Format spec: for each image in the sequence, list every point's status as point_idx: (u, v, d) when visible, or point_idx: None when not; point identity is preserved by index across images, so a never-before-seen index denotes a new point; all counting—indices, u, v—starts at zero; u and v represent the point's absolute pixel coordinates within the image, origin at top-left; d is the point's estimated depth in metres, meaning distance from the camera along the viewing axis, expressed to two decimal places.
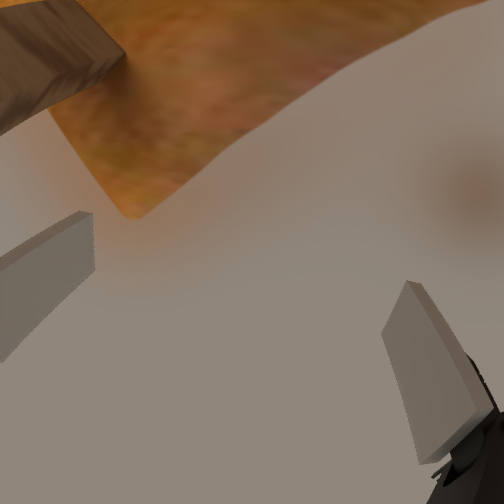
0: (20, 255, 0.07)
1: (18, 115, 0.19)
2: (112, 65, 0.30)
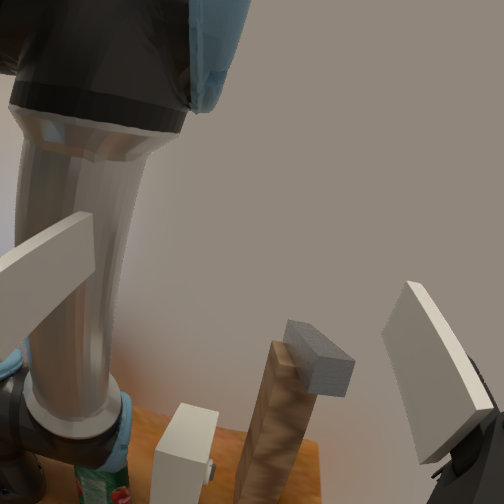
0: (20, 255, 0.07)
1: None
2: None
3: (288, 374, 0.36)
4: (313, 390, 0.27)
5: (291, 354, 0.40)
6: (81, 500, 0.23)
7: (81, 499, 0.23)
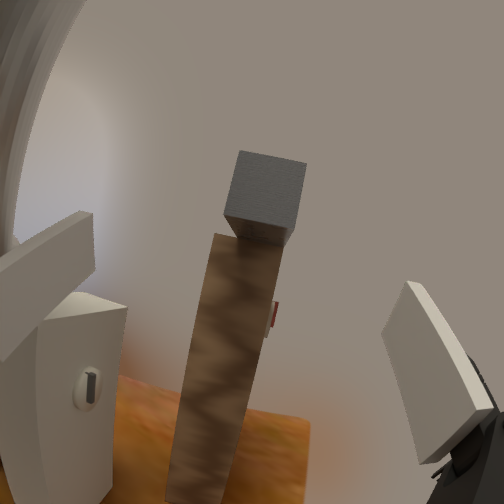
0: (20, 255, 0.07)
1: None
2: None
3: (228, 250, 0.26)
4: (234, 210, 0.17)
5: None
6: None
7: None
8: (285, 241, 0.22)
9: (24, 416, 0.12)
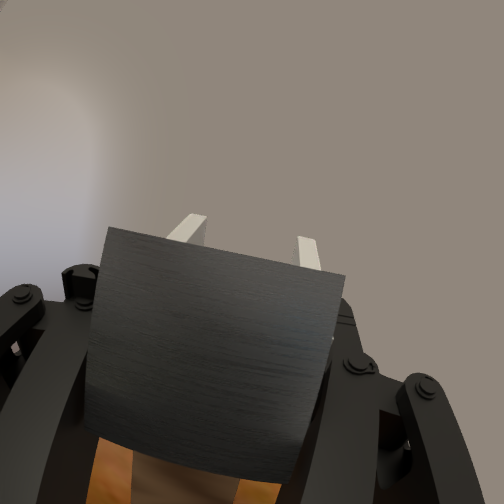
0: None
1: None
2: None
3: None
4: (108, 426, 0.04)
5: None
6: None
7: None
8: None
9: None
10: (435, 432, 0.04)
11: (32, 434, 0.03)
